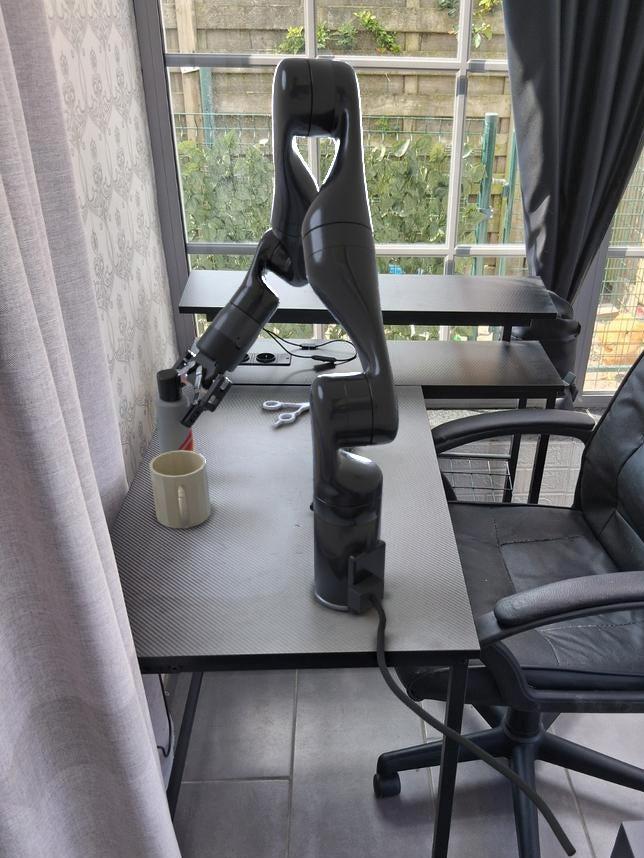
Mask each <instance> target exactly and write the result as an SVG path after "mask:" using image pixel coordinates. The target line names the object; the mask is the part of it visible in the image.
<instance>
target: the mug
mask: <svg viewBox="0 0 644 858" xmlns="http://www.w3.org/2000/svg"><path fill="white" fill-rule="evenodd" d="M148 465H149V474H150V481H151V487H152V488H151V489H152V495H153V501H154V502H153V503H154V509H155V516H156V520H157V521H158V523H160V525H162V526H165V527H168V528H171V529H188V528H193V527H196V526H198V525H201V524H203V523H204V522H205V521H207V520H208V519H209V518H210V516H211V500H210V490H209V479H208V470H207V461H206V457H204V456H203V454H201V453H200V452H196V451H194V452H193V451H186V450H177V451H169V452H166V453H162V454H160V453H159V454H158V455H157V456H154V457H153V458H152V459H151V461H150V462H149V464H148Z"/></svg>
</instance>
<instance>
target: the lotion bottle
mask: <svg viewBox="0 0 644 858" xmlns="http://www.w3.org/2000/svg"><path fill="white" fill-rule="evenodd" d="M178 371H179V370H176V369H171V368H166V369H165V368H164V369H161V370H159V371H157V372H156V376H155V377H156V383H157V391H158V395H157V396H156V397H155V398H154V400H153V407H154V408H153V409H154V415H155V423H156V430H157V431H156V432H157V437H158V447H159V455H160V454H162V453H166V452H169V451H177V450H186V451H193V452H195V443H194V434H193V425H192V426H191V427H190V428H187V427H185V426H184V425H182V424H181V423H180V422H179V419H180V418H181V416H182V415H183V414H184V412H185V411H186V410H187V408H188V407H189V405H190V399H189V396H187V395H186V394H184V393H183V390H182V385H181V383H182V382H181V375H180V373H178Z"/></svg>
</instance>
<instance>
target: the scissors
mask: <svg viewBox="0 0 644 858" xmlns="http://www.w3.org/2000/svg"><path fill="white" fill-rule="evenodd" d="M286 407H287V408H288V407H289V408H298V410H296V411H293V412H283V413H281V414H280V415H278V417H277V419H278V420H277V421H276V422H274V423H273V427H274V428H278V427H279V426H280V425H282V424H290V423H293V422H294V421H295V420H296V416H298V415H300V414H301V413H302V412H304V411H306V410H310V407H309V401H307V402H299V403H298V402H296V403H294V402H281V401H278V400H267V401H264V402H263V403H262V408H263V409H264V410H269V411H273V410H275V411H276V410H279V409H281V408H286ZM285 418H287V419H285Z"/></svg>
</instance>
